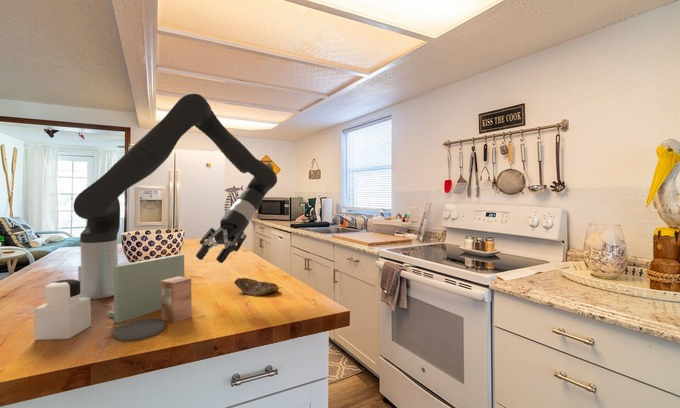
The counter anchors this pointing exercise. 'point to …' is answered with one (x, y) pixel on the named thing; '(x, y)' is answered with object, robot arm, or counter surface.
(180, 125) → the robot arm
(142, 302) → the screen
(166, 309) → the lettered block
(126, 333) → the mat
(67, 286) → the white stepped block
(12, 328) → the counter surface
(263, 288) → the decorative stone
